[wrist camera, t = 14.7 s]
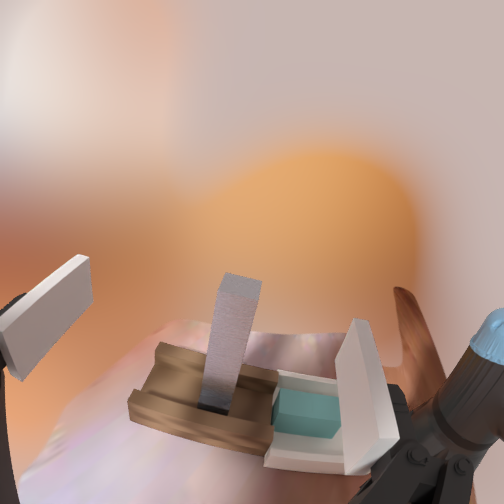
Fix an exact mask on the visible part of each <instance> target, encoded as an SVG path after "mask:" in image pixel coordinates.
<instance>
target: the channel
mask: <svg viewBox="0 0 504 504" xmlns="http://www.w3.org/2000/svg"><path fill="white" fill-rule="evenodd" d="M206 356H207V355H205V354H202V353H198V352H194V351H191V350H187V349H184V348H180V347H177V346H173V345H170V344H167V343H163V342H160V343H159V345H158V346H157V348H156V350H155V365H154V367H153V368H152V370H151V372H150V374H149V376H148V378H147V380H146V382H145V384H144V386H143V387H142V389H141V391H139V390H137V389H134V390H133V392H132V393H131V395H130V397H129V399H128V401H127V402H128V409H129V416H130V420H131V421H133V422H136V423H139V424H142V425H145V426H147V427H150V428H153V429H156V430H159V431H162V432H165V433H169V434H172V435H175V436H178V437H182V438H185V439H189V440H193V441H196V442H200V443H204V444H208V445H212V446H216V447H220V448H225V449H229V450H234V451H239V452H244V453H249V454H254V455H260V456H265V454H266V452H267V451H268V449H269V447H270V445H271V443H272V441H273V437H274V426H273V425H270V422H271V412H272V401H273V394H274V391H275V389H276V386H277V384H278V377H279V372H278V371H273V370H268V369H264V368H259V367H255V366H250V365H246V364H241V368H240V372H239V375H238V379H237V383H236V386H235V390H234V394H233V397H232V401H231V405H230V409H229V413H228V416H224V415H220V414H216V413H212V412H208V411H204V410H201V409H197V405H198V400H199V397H200V394H201V387H202V381H203V375H204V369H205V362H206Z"/></svg>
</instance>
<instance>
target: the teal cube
mask: <svg viewBox="0 0 504 504" xmlns="http://www.w3.org/2000/svg"><path fill="white" fill-rule="evenodd" d="M312 413H313V418H312V420H311V421H310V423H309V425H308V426H307V428H306V430H305V431H304V433H303V434H302V436H310V437H318V438H328V439H332V438H333V437H334V435H335V434H336V433H337V431H338V430H339V429H340V427H341V415H340V405H339V397H334V396H327V395H320V394H314V393H312Z"/></svg>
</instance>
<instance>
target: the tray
mask: <svg viewBox="0 0 504 504" xmlns="http://www.w3.org/2000/svg"><path fill="white" fill-rule="evenodd" d="M277 371H278V372H279V377H278V384H277V386H276V389H275V391H274V394H273V401H272V407H273V404H274V402H275V400H276V397H277V395H278V393H279V390H280V388H284V389H289V390H295V391H301V392H307V393H314V394H320V395H327V396H334V397H339V395H338V386H337V380H336V379H330V378H324V377H318V376H312V375H306V374H300V373H295V372H290V371H285V370H280V369H277ZM271 416H272V412H271ZM270 425H271V422H270ZM263 467H269V468H276V469H283V470H291V471H300V472H311V473H324V474H344V475H345V469H344V453H343V439H342V427H340V429H339V430H338V431H337V433H336V434H335V435H334V437H333V438H332V439H328V438H318V437H310V436H301V435H294V434H287V433H280V432H274V437H273V441H272V443H271V445H270V447H269V449H268V451H267V452H266V454H265V456H264V464H263ZM370 472H371V469H370V470H369V471H367V472H366V473H365V474H364V475H368V474H369V473H370Z"/></svg>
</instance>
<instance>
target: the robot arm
mask: <svg viewBox="0 0 504 504" xmlns="http://www.w3.org/2000/svg"><path fill="white" fill-rule="evenodd" d="M92 303H93V294H92V284H91V273H90V259H89V257H86V256H83V255H79V254H77V255H76V256H75V257H73V258H72V259H71V260H69V261H68V262H66V263H65V264H64V265H63V266H61V267H60V268H59V269H57V270H56V271H55V272H53V273H52V274H51V275H50V276H48V277H47V278H46V279H45V280H43V281H42V282H41V283H40V284H38V285H37V286H36V287H35V288H33V289H32V290H31V291H30V292H29V293H24V294H21V295H19V296H17V297H15V298H14V299H13V300H12V301H11V302H9V304H7V305H6V306H5V307H4V308H3V309H1V310H0V504H20V502H19V498H18V494H17V489H16V485H15V480H14V475H13V470H12V464H11V457H10V451H9V442H8V434H7V424H6V409H5V380H4V379H5V376H4V371H3V368H4V367H5V366H6V365H7V367H8V370H9V372H10V374H11V375H12V376H14V377H15V378H17V379H18V380H20V381H22V382H23V380H24V379H25V378H26V377H27V375H28V374H29V373H30V372H31V371H32V370H33V369H34V367H35V366H36V365H37V364H38V362H39V361H40V360H41V359H42V358H43V357H44V356H45V355H46V353H47V352H48V351H49V350H50V349H51V348H52V346H53V345H54V344H55V343H56V342H57V341H58V340H59V339H60V337H61V336H62V335H63V334H64V333H65V332H66V331H67V330H68V329H69V328H70V326H71V325H72V324H73V323H74V322H75V321H76V320H77V319H78V318H79V317H80V316H81V314H83V312H84V311H85V310H86V309H87V308H88V307H89V306H90V305H91V304H92ZM335 368H336V377H337V386H338V395H339V405H340V415H341V427H342V439H343V453H344V469H345V475H364V474H365V473H366V472H367V471H369V470H370V469H371V478H370V479H369V480H367V481H366V482H365V483H364V484H363V485H362V486H361V487H359V488H361V489H360V490H359V491H358V493H357V494H356V495H355V496H354V497H353V498H352V499H351V500H350V502H349V503H348V504H469V501H470V495H471V489H472V482H473V475H474V471H475V470H476V468H477V467H478V465H479V464H480V462H481V460H482V459H483V457H484V455H485V454H486V452H487V450H488V449H489V448H490V447H491V446H492V445H493V444H494V443H495V442H496V441H497V440H498V439H499V438H500V439H501V440H502V441H504V308H499V309H497V310H494V311H493V312H491V313H490V314H489V315H488V316H487V318H486V319H485V321H484V323H483V324H482V326H481V327H480V329H479V330H478V332H477V333H476V334H475V335H474V336H473V337H472V339H471V340H470V345H469V347H468V348H467V350H466V351H465V353H464V355H463V356H462V358H461V359H460V361H459V362H458V364H457V365H456V367H455V368H454V370H453V371H452V373H451V374H450V376H449V377H448V378H447V380H446V381H445V382H444V384H443V385H442V386H441V388H440V389H439V391H438V392H437V393H436V394H435V396H434V397H432V398H431V399H429V400H428V401H426V402H425V403H423V404H422V405H420V406H419V407H417V408H415V409H414V410H412V411H411V412H409V409H408V406H407V402H406V398H405V395H404V393H403V392H402V390H401V389H400V388H399V386H398V385H395V384H387V383H386V379H385V375H384V372H383V368H382V364H381V361H380V358H379V354H378V350H377V347H376V344H375V340H374V337H373V334H372V331H371V328H370V324H369V321H368V320H363V319H357V318H353V321H352V323H351V325H350V327H349V330H348V332H347V334H346V336H345V339H344V341H343V343H342V345H341V348H340V350H339V352H338V354H337V356H336V358H335Z"/></svg>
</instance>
